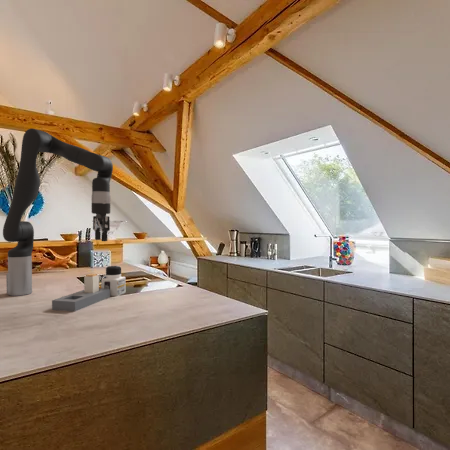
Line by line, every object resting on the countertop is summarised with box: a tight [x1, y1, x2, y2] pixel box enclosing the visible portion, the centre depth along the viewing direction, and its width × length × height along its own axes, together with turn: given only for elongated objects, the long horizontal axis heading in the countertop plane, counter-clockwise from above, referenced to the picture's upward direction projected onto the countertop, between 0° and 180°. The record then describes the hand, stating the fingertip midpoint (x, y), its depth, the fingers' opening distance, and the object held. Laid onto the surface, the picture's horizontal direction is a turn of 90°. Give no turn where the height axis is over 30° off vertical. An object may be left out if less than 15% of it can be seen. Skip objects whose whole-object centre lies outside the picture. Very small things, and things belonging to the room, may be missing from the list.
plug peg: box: [83, 273, 100, 293], centre depth 135 cm, size 4×4×11 cm
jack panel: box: [51, 287, 111, 312], centre depth 129 cm, size 10×22×4 cm, turn 167°
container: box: [100, 265, 127, 297], centre depth 145 cm, size 8×8×13 cm
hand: (101, 240), depth 137 cm, fingers open, 8 cm apart
